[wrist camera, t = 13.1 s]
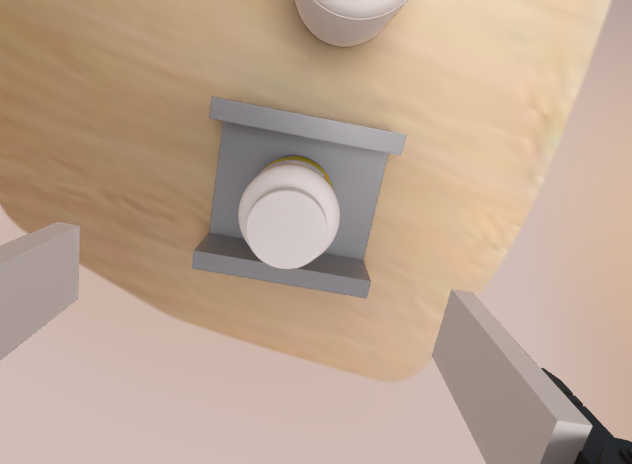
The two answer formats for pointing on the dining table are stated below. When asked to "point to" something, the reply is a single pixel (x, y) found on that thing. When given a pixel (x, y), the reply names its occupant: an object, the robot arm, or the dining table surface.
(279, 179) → the supplement bottle
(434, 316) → the dining table surface
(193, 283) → the dining table surface
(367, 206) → the u cradle
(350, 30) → the pill bottle
